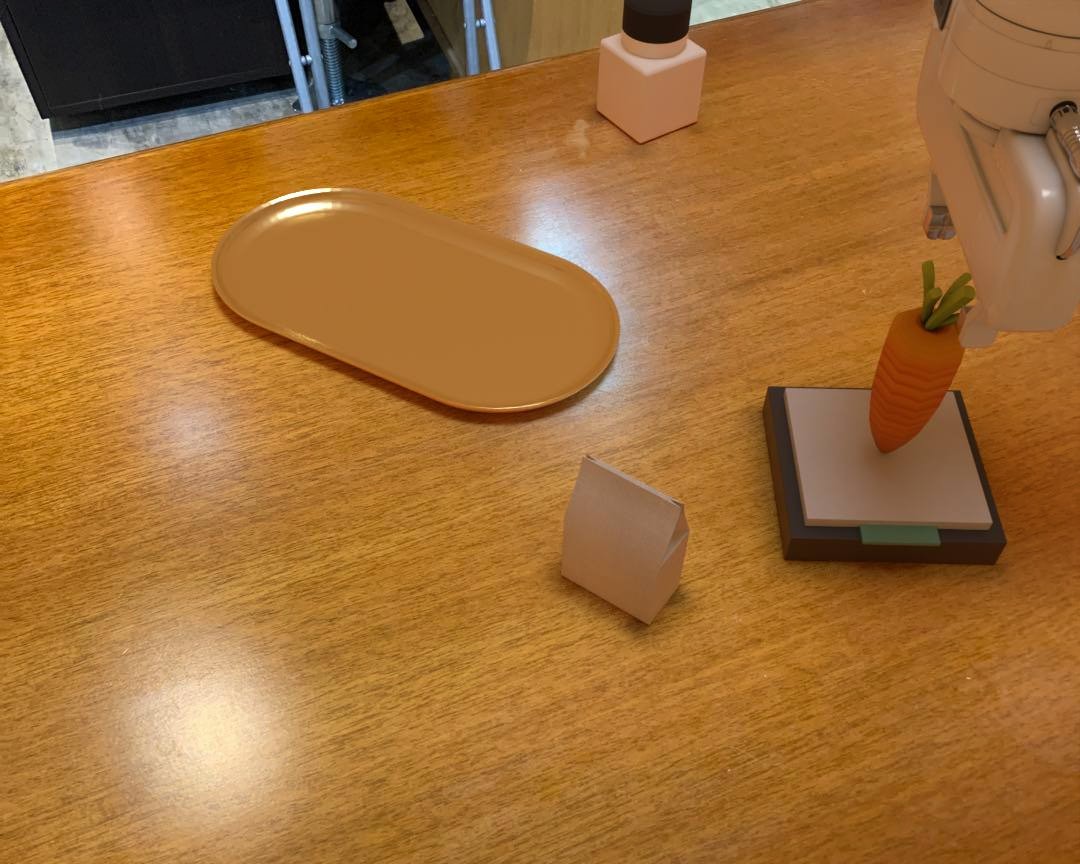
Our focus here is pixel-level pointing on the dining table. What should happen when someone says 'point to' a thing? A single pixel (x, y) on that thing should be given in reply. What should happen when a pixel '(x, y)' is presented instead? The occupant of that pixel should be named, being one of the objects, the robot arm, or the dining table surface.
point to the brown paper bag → (623, 540)
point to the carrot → (917, 363)
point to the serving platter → (418, 298)
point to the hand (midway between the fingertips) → (953, 283)
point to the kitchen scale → (877, 483)
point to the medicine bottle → (651, 70)
